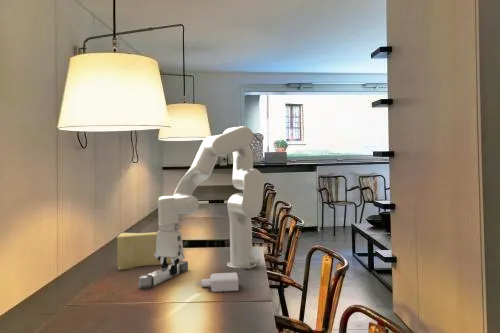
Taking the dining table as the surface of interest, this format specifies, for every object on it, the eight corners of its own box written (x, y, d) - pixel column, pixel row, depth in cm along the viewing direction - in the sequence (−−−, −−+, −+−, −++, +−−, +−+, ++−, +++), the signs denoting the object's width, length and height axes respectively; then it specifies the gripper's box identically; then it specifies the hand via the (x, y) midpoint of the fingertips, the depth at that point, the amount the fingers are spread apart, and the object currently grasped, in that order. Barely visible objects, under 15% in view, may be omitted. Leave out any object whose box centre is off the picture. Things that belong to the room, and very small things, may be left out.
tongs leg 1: (149, 285, 153) (149, 275, 153) (144, 284, 154) (144, 274, 154) (183, 269, 174) (183, 261, 174) (179, 269, 175) (178, 260, 175)
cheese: (172, 262, 190) (171, 229, 190) (170, 268, 181) (169, 233, 180) (121, 265, 188) (121, 231, 188) (117, 270, 178) (116, 235, 178)
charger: (196, 286, 156) (236, 284, 157) (195, 294, 146) (238, 291, 148) (195, 273, 155) (236, 271, 157) (195, 280, 146) (238, 278, 148)
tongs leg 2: (155, 285, 152) (155, 276, 152) (150, 285, 153) (150, 275, 153) (188, 270, 173) (187, 261, 173) (183, 269, 174) (183, 261, 174)
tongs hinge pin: (154, 286, 152) (154, 275, 152) (146, 290, 148) (146, 278, 148) (144, 285, 154) (144, 274, 154) (136, 288, 150) (136, 277, 150)
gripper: (191, 227, 164) (192, 273, 165) (156, 225, 171) (157, 270, 171) (181, 230, 157) (182, 279, 158) (145, 228, 164) (146, 274, 164)
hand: (169, 273), depth 165 cm, fingers open, 3 cm apart
